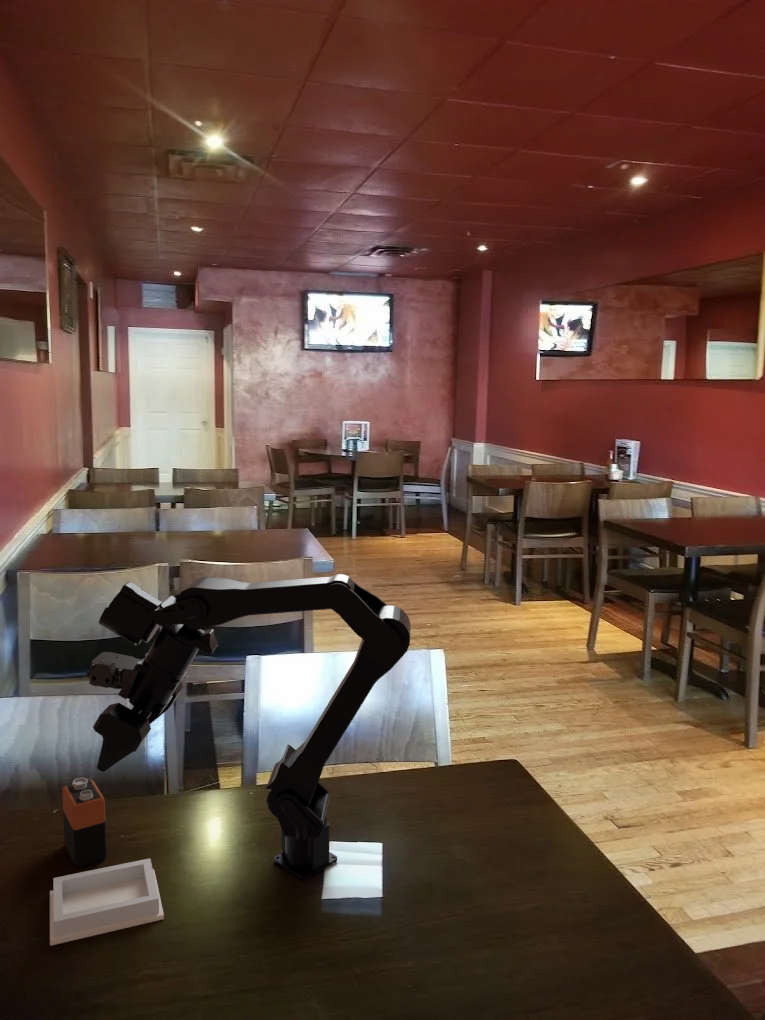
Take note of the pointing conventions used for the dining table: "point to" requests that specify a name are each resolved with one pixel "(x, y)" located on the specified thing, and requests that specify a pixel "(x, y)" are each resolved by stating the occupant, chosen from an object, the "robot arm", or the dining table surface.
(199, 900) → the dining table surface
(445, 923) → the dining table surface
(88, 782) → the battery
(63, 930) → the tray
